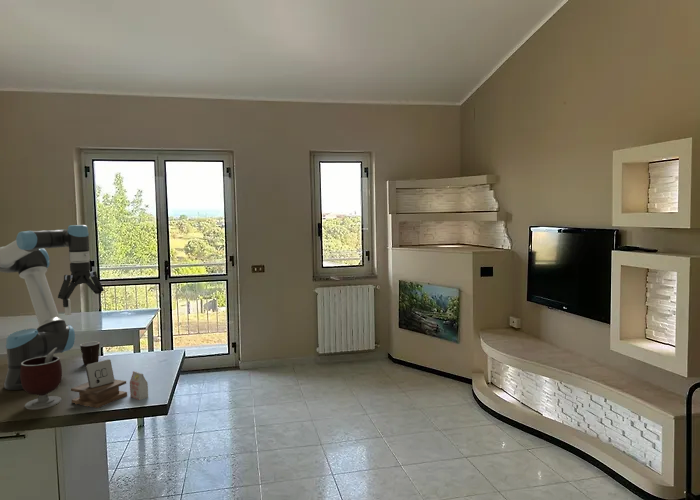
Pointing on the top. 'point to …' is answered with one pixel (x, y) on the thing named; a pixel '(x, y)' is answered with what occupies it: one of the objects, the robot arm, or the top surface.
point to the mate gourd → (41, 380)
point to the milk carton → (138, 386)
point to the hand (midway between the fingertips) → (82, 311)
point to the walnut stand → (98, 394)
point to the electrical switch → (99, 373)
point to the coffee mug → (90, 352)
